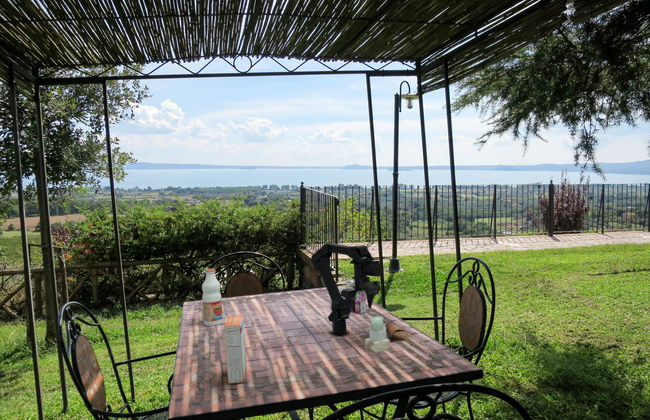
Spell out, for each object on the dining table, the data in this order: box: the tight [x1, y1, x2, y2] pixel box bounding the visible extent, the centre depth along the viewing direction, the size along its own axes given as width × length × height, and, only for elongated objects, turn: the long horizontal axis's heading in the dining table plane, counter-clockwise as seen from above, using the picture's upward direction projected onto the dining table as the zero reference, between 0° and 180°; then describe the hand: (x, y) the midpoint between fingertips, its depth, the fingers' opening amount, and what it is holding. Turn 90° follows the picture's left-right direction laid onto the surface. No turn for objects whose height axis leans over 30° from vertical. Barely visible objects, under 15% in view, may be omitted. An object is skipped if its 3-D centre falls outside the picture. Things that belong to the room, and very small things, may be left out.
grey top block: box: [368, 328, 387, 342], centre depth 197 cm, size 5×5×4 cm
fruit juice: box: [201, 267, 223, 327], centre depth 244 cm, size 9×9×28 cm
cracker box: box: [223, 314, 248, 385], centre depth 174 cm, size 14×6×21 cm, turn 5°
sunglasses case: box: [385, 322, 410, 343], centre depth 214 cm, size 18×7×7 cm
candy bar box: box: [344, 279, 367, 315], centre depth 255 cm, size 11×5×16 cm, turn 41°
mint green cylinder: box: [370, 315, 384, 332], centre depth 197 cm, size 5×5×5 cm
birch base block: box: [364, 337, 390, 353], centre depth 197 cm, size 7×7×4 cm
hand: (361, 310), depth 209 cm, fingers open, 9 cm apart
